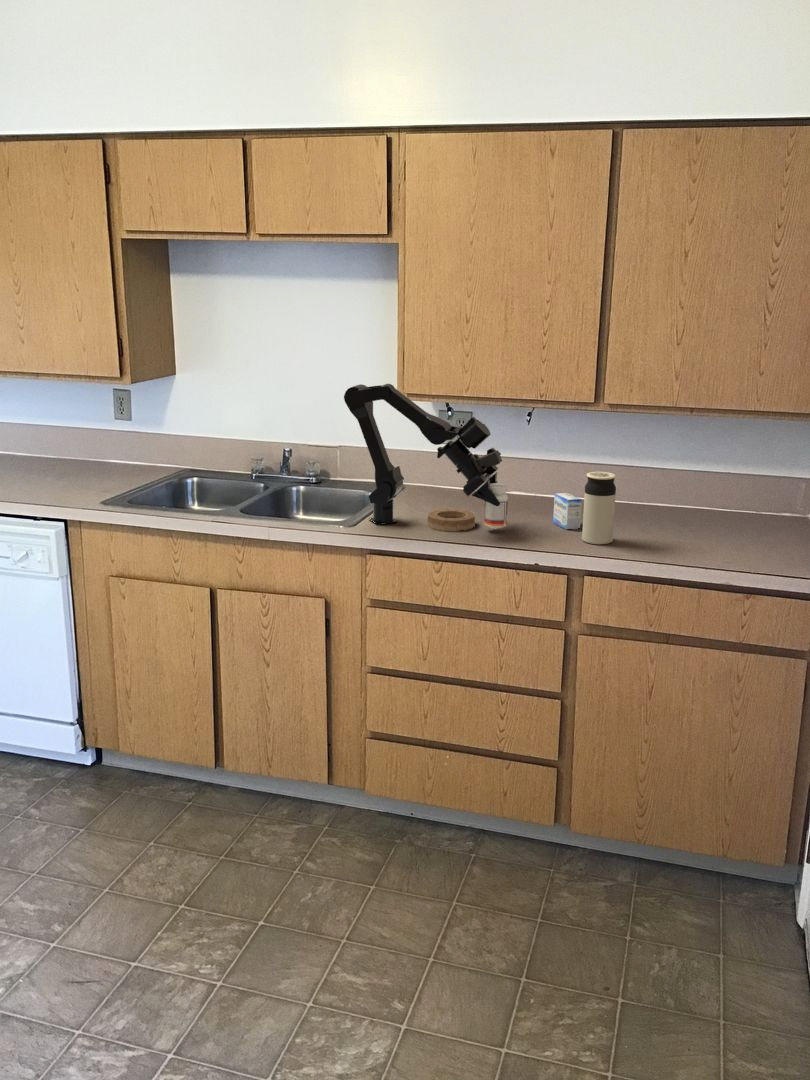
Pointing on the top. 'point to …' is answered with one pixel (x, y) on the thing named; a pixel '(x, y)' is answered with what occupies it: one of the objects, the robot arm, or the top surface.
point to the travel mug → (599, 508)
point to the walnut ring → (451, 519)
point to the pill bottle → (497, 507)
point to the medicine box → (567, 511)
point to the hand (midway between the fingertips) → (501, 502)
